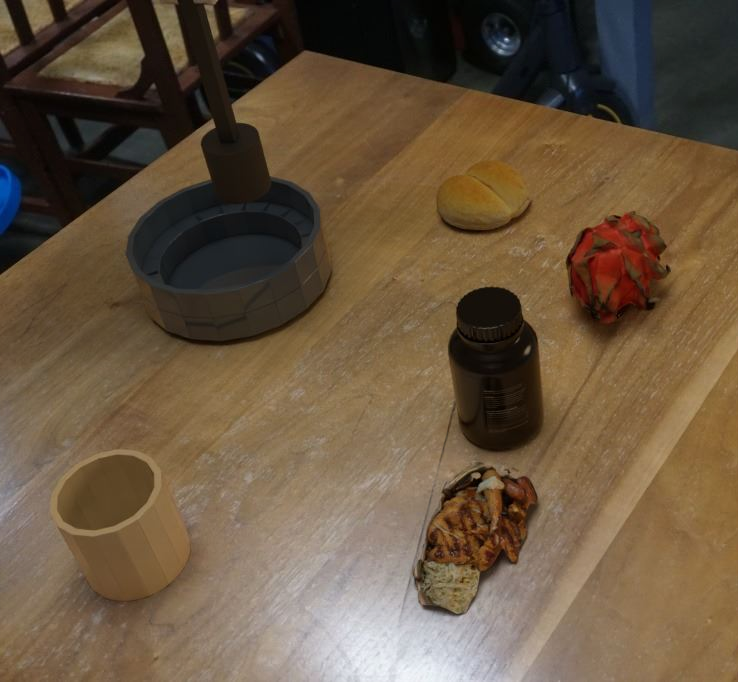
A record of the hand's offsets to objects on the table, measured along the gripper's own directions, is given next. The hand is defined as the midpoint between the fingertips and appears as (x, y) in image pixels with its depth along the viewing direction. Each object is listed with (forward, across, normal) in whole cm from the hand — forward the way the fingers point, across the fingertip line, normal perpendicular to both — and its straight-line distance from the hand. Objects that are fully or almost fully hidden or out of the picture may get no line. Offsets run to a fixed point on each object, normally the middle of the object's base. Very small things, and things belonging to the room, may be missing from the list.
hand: (191, 1), depth 83 cm
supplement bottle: (+28, -24, +15) cm, 40 cm away
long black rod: (+17, 0, 0) cm, 17 cm away
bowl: (+28, +3, 0) cm, 28 cm away
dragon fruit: (+28, -32, 0) cm, 43 cm away
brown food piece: (+28, -24, +27) cm, 46 cm away
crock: (+28, 0, +31) cm, 42 cm away
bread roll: (+28, -18, -13) cm, 36 cm away
